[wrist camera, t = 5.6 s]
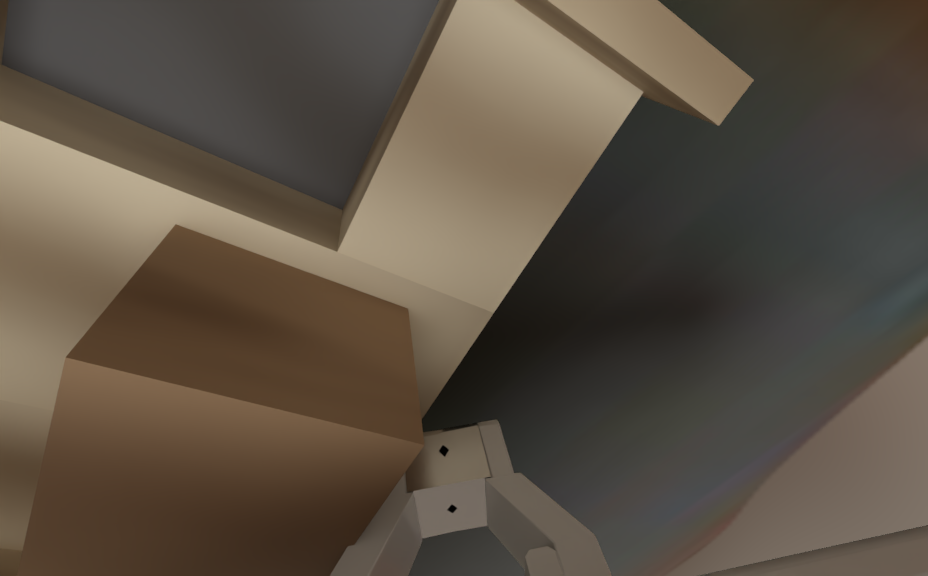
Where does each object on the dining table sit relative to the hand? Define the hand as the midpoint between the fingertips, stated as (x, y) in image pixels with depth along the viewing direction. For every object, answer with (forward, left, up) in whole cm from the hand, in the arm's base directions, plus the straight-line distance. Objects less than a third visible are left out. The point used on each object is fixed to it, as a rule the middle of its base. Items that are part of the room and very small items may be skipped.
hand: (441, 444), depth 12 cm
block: (0, +5, -1) cm, 5 cm away
